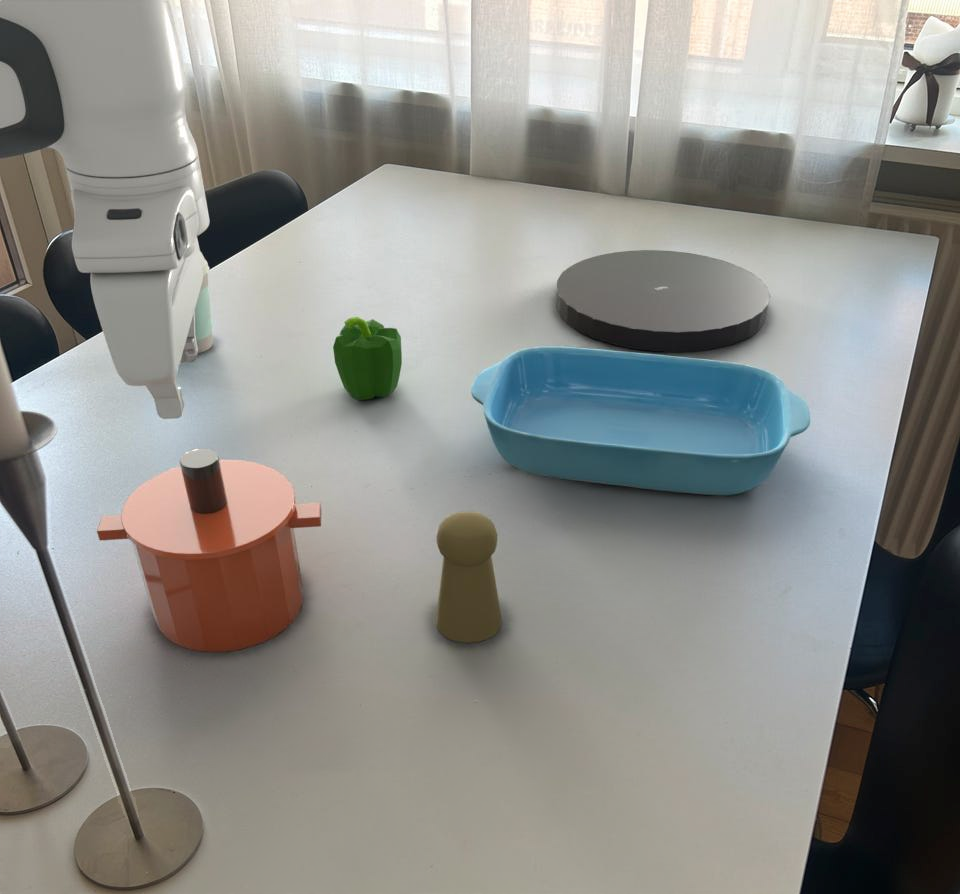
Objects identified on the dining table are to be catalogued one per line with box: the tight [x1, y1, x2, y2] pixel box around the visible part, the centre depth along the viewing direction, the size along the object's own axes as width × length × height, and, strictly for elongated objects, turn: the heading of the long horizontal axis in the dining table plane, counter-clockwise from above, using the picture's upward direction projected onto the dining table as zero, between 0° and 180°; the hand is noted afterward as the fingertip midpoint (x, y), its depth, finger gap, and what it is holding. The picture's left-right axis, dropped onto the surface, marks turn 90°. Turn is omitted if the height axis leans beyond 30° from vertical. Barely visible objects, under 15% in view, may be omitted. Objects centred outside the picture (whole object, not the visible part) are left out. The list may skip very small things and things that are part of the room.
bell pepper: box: [332, 316, 403, 401], centre depth 122 cm, size 8×8×10 cm
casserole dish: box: [470, 346, 811, 496], centre depth 112 cm, size 37×22×7 cm, turn 79°
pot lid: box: [120, 448, 297, 560], centre depth 85 cm, size 15×15×6 cm
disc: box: [555, 249, 771, 353], centre depth 143 cm, size 30×30×3 cm
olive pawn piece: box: [435, 510, 503, 644], centre depth 88 cm, size 6×6×11 cm
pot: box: [96, 502, 322, 653], centre depth 90 cm, size 14×19×10 cm
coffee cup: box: [195, 251, 214, 355], centre depth 131 cm, size 8×8×12 cm
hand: (180, 385), depth 79 cm, fingers open, 8 cm apart
